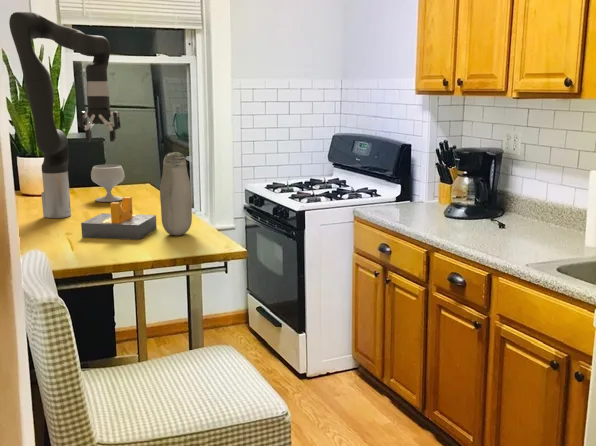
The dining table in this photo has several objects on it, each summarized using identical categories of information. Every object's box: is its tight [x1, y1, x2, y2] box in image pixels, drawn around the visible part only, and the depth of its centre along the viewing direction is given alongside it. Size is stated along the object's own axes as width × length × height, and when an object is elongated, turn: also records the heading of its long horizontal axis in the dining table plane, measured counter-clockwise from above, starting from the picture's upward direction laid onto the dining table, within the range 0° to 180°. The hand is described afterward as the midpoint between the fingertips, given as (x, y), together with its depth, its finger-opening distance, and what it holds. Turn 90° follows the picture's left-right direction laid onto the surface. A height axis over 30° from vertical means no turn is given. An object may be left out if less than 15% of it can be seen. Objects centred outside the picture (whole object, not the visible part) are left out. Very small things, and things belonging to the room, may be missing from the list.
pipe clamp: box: [109, 196, 133, 223], centre depth 219 cm, size 12×4×6 cm, turn 172°
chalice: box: [90, 163, 126, 203], centre depth 279 cm, size 14×14×15 cm
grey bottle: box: [159, 151, 193, 236], centre depth 216 cm, size 10×10×28 cm
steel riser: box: [80, 212, 158, 241], centre depth 220 cm, size 20×16×5 cm
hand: (101, 141), depth 228 cm, fingers open, 8 cm apart
